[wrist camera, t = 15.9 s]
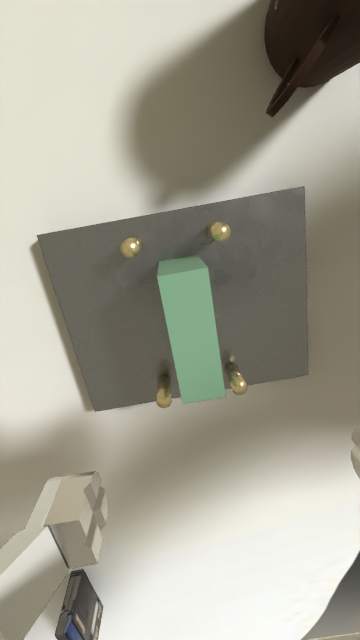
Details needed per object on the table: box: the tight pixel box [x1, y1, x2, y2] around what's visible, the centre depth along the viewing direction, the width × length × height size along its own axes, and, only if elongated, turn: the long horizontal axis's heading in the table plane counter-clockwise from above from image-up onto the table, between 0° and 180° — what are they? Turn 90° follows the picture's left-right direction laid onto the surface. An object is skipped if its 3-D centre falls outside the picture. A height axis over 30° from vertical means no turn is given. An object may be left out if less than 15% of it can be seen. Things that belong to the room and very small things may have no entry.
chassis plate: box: [37, 187, 308, 412], centre depth 23 cm, size 20×16×4 cm
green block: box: [157, 255, 226, 404], centre depth 21 cm, size 3×9×6 cm, turn 10°
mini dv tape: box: [55, 569, 103, 640], centre depth 35 cm, size 8×2×6 cm, turn 13°
